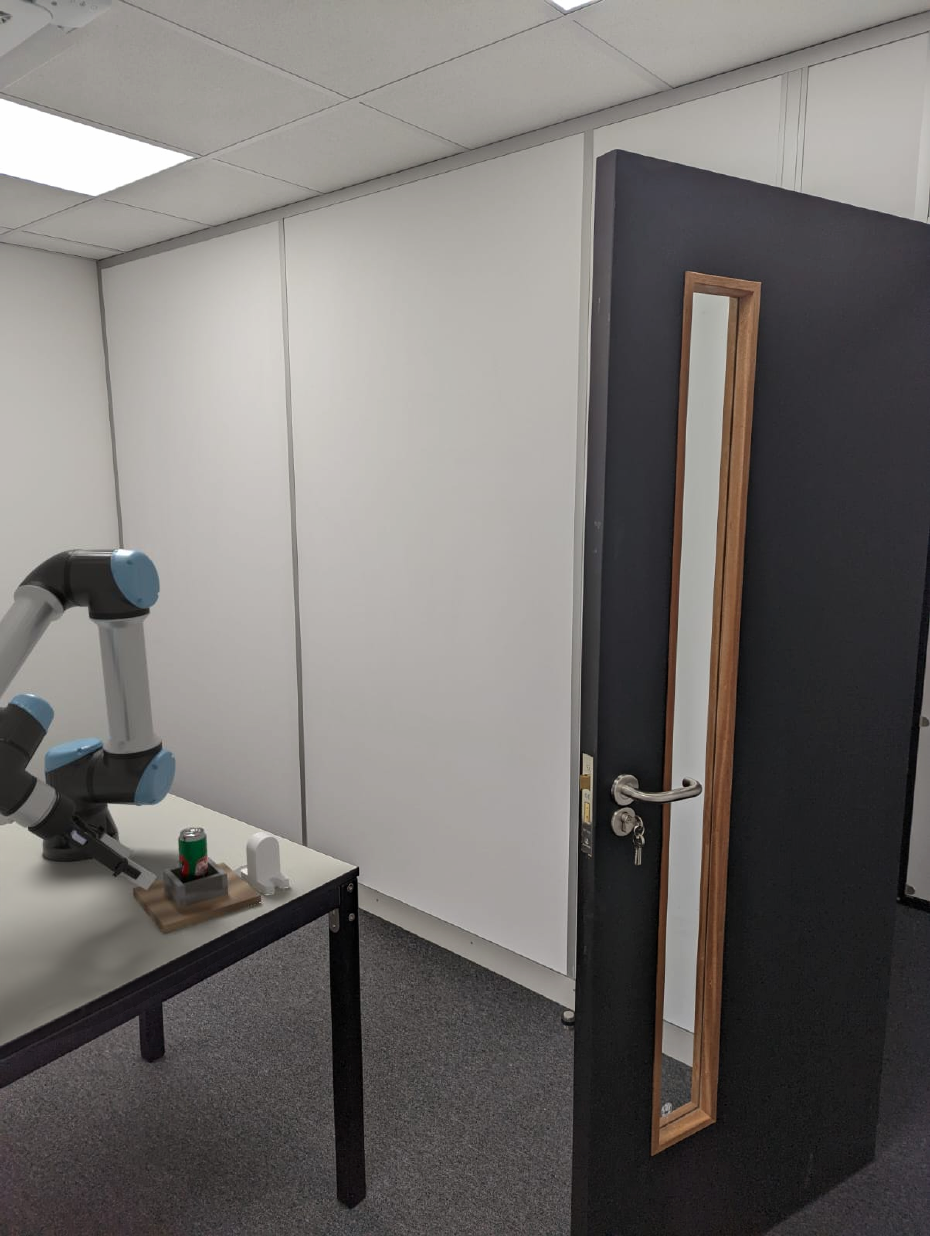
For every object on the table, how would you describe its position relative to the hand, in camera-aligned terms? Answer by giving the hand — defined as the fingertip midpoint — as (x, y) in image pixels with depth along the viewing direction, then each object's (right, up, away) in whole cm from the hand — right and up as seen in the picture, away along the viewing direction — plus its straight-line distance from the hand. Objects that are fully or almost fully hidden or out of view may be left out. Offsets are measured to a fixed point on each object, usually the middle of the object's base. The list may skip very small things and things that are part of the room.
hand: (139, 869), depth 156 cm
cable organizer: (+20, -7, +14) cm, 25 cm away
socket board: (+8, -8, +7) cm, 13 cm away
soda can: (+8, -6, +7) cm, 12 cm away
